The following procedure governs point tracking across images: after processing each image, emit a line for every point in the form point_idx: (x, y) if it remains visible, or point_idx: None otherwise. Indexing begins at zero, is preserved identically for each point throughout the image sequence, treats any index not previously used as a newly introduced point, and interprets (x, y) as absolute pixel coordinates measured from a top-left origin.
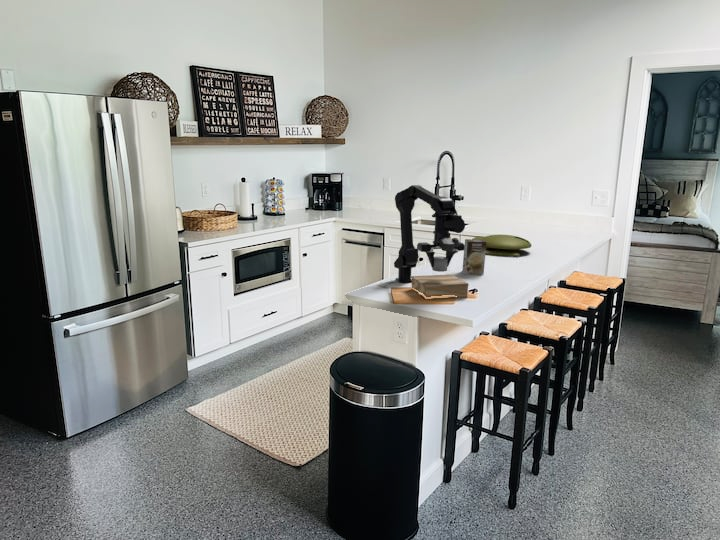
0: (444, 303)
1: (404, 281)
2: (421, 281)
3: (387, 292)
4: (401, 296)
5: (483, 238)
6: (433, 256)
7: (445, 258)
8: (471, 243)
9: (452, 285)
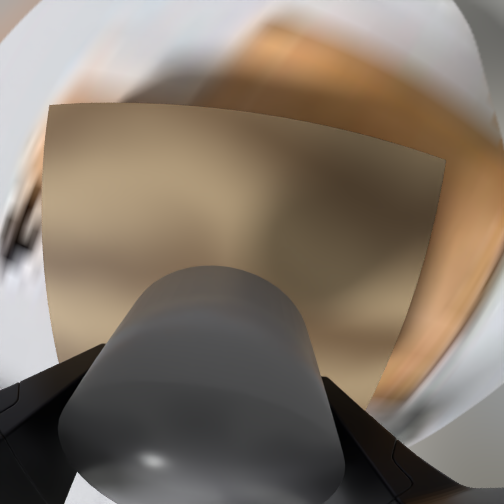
0: (323, 44)
1: None
2: (397, 298)
3: (462, 347)
4: (460, 269)
5: None
6: (398, 492)
7: (107, 429)
8: None
9: (194, 106)
